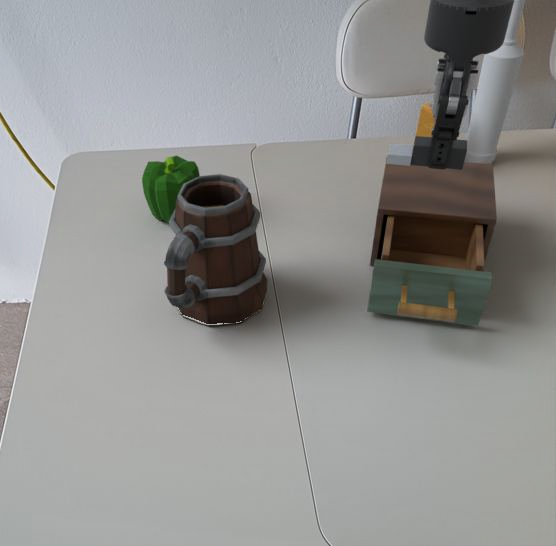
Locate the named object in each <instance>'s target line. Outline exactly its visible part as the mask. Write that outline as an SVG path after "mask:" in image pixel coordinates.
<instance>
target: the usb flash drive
mask: <svg viewBox="0 0 556 546" xmlns="http://www.w3.org/2000/svg"><path fill="white" fill-rule="evenodd" d="M414 140H415V141H414ZM414 140H413V144H409V143H408V144H406V143H394V142H390V143H389V148H388V152H387V156H388V157H387V156H386V158H387V164H395V165H405V166H410V164H411V165H416V166H427V163H428V157H429V152H430V147H431V142H432V137H421V136H415V135H414ZM466 153H467V140H466V139H458V138H457V140H454V142H453V146H452V151H451V155H450V160H449V164H448V167H447V168H449V169H459V170H462V169H463V165H464V161H465V157H466ZM427 167H428V166H427Z"/></svg>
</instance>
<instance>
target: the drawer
mask: <svg viewBox="0 0 556 546" xmlns="http://www.w3.org/2000/svg"><path fill="white" fill-rule="evenodd" d="M484 269H485V262H484V242H483V224H478V223H468V222H457V221H447V220H436V219H426V218H416V217H405V216H395V215H388V218H387V224H386V231H385V237H384V243H383V250H382V256H381V260H377V259H375V263H374V266H373V270H372V275H371V276H372V277H371V283H370V289H369V297H368V303H367V308H366V309H367V310H366V311H367V313H376V314H383V315H389V316H398V317H405V318H413V319H422V320H428V321H436V322H443V323H450V324H458V325H466V326H472V327H473V326H474V327H478V326H479V324H480V320H481V317H482V314H483V311H484V308H485V304H486V301H487V298H488V294H489V291H490V288H491V285H492V282H493V272H491V271H484Z"/></svg>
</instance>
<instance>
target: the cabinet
mask: <svg viewBox="0 0 556 546" xmlns="http://www.w3.org/2000/svg"><path fill="white" fill-rule="evenodd" d="M387 157H388V155H386V159H385V165H384V171H383V176H382V183H381V189H380V194H379V201H378V206H377V213H376V220H375V226H374V233H373V240H372V247H371V255H370V261H369V266H370V267H371V266H372V267H374V263H375V259H377V260H381V256H382V250H383V243H384V237H385V231H386V224H387V218H388V215H395V216H405V217H416V218H426V219H436V220H447V221H457V222H468V223H478V224H483V242H484V263H485V262H486V258H487V255H488V251H489V249H490V246H491V245H490V244H491V242H492V238H493V235H494V232H495V227H496V224H497V221H498V217H497V203H496V202H497V201H496V188H495V187H496V185H495V174H494V173H495V171H494V164H493V163H491V164H483V163H470V162H464V165H463V169H462V170H459V169H449V168H446V169H432V168H429V167H427V166H416V165H411V164H410V166H405V165H395V164H387Z"/></svg>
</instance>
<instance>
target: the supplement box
mask: <svg viewBox="0 0 556 546" xmlns="http://www.w3.org/2000/svg"><path fill="white" fill-rule="evenodd" d="M433 102H434V101H431V102H429V103H423V104H422V105H421V107H420V112H419V118H418V121H417V127H416V130H415V135H414V137H415V136H421V137H432V135H431V131H432V128H434V122H435V121H434V118H433V114H432V107H433ZM414 141H415V139H414V140H413V142H414Z"/></svg>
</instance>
